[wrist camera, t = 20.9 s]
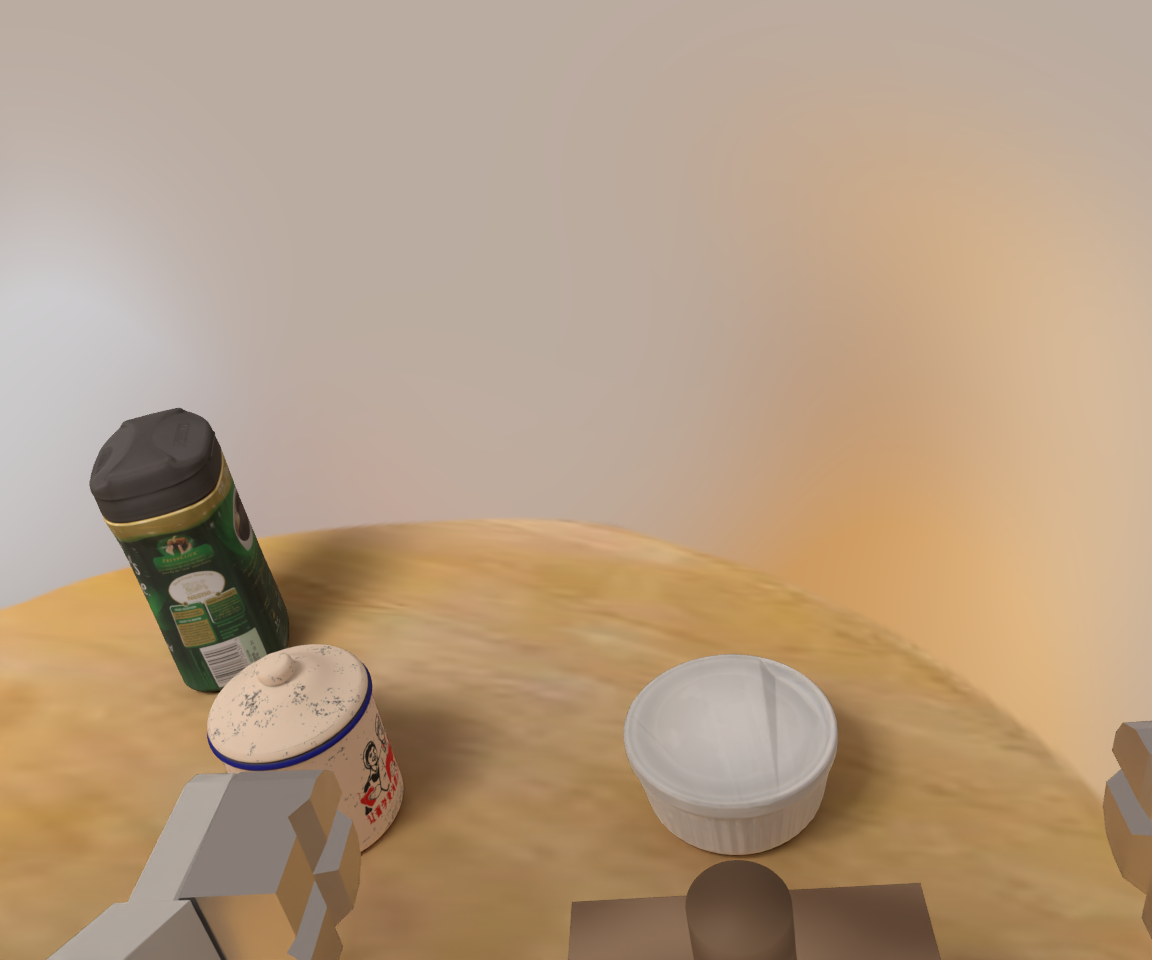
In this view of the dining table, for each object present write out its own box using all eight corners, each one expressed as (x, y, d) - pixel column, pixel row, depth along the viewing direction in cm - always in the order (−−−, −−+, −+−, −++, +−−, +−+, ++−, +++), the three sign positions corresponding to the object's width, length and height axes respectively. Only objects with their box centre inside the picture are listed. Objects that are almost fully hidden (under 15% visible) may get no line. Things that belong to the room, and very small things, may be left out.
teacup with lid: (414, 849, 57) (357, 696, 51) (251, 894, 56) (175, 744, 50) (402, 705, 67) (354, 563, 61) (265, 741, 67) (202, 601, 61)
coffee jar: (189, 628, 79) (92, 416, 69) (291, 599, 80) (209, 387, 70) (179, 711, 71) (66, 485, 61) (293, 678, 72) (200, 450, 62)
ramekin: (884, 809, 55) (883, 738, 52) (710, 915, 51) (699, 844, 48) (757, 691, 63) (751, 625, 61) (601, 774, 60) (587, 708, 57)
